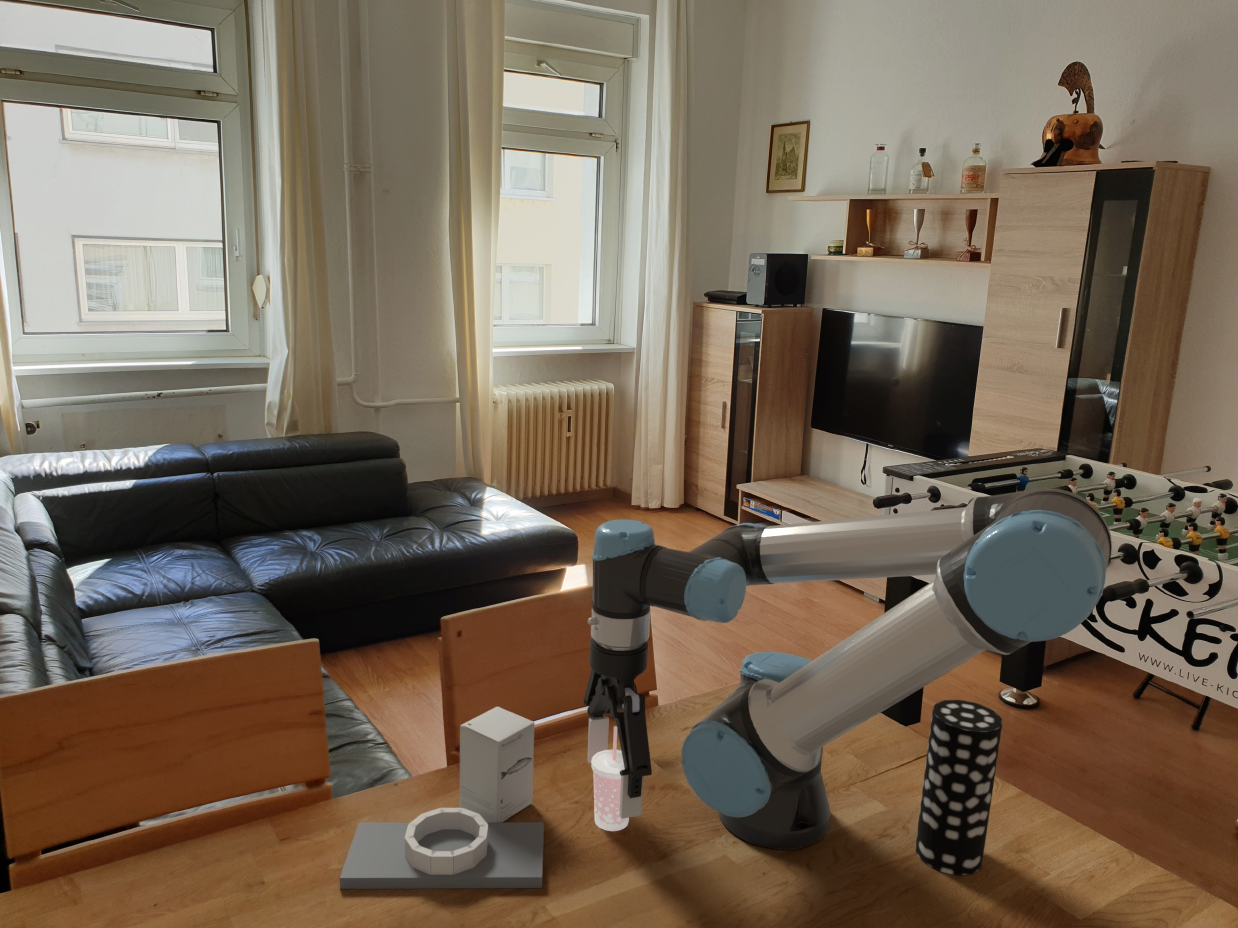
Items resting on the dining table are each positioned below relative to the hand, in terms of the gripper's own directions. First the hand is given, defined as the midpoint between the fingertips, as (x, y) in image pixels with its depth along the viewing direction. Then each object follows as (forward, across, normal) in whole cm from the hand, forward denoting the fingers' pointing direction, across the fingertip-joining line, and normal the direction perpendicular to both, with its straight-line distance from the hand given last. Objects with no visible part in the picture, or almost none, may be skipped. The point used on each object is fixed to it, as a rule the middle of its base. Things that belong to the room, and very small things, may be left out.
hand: (613, 786), depth 127 cm
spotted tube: (+5, +19, +40) cm, 45 cm away
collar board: (+5, +2, -22) cm, 23 cm away
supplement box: (+5, -8, -14) cm, 17 cm away
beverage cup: (+5, 0, 0) cm, 5 cm away
